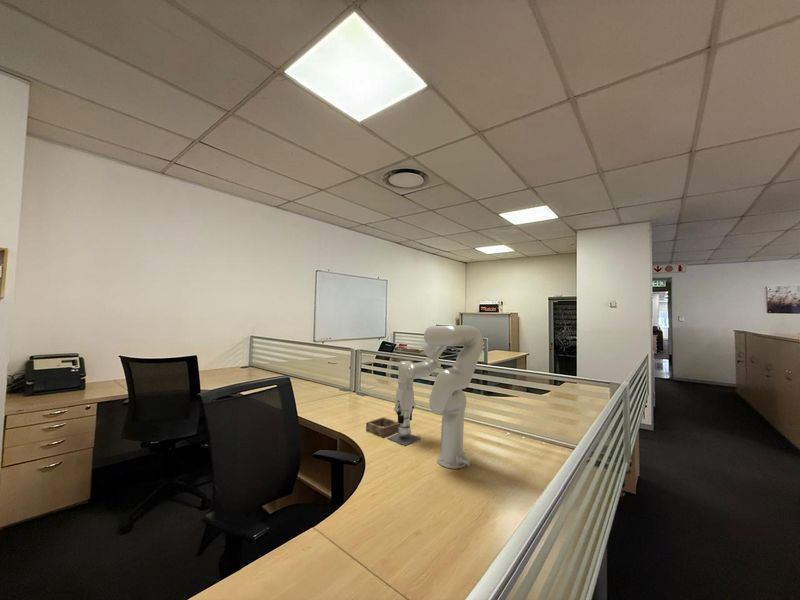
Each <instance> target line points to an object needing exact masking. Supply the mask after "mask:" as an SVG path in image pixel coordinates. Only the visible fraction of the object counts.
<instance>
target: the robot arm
mask: <svg viewBox="0 0 800 600" xmlns="http://www.w3.org/2000/svg"><path fill="white" fill-rule="evenodd" d="M423 340H424V342H425V344H424V345H423V348H422V350H423V353H424V354H425V356H426V359H425V360H424V361H420V362H412V361H411V360H401V361H399V363H398V372H397V373H398V374H397V375H398V380H397V382H398V383H397V384H398V385H397V389H396V391H395V392H396V393H395V399H394V400H395V402H394V409H393V410H394V411H395V413H396V415H397V422H398V423H401V424H403V410H404V409H405V407H406V406H407V404H410V405H411V414H410V422H411V421H413V420H412V419H413V412H414V408H415V407H416V402H415V393H414V380H417V379H421V378H427V377H429V376H430V375H432V374H433V373H434V371H435V370H436V369H437V367H438V366H439V361H440V358H439V357H440V356H441V355H442V354H443V352H444V351H445V350H446V349H447V347H462V349H461V350H460V351H459V353H458V354H457V356H456V360H455V362H454V364H453V366H451V367H449V368H448V367H447V368H444V369H442V370H440V371H439V373H438V374H437V376H436V378H435V381H434V383H433V386H432V389H431V392H430V395H429V400H428V401H429V408H430V410H431V412H432V413H434V414H435V415H438V416H439V415H440V416H442V417H441V429H440V431H441V435H440V438H441V439H440V440H441V442H440V454H439V455H438V456H437V458H436V461H437V463H438V464H439V465H440V466H442V467H444V468H447V469H454V470H455V469H462V468H464V467H465V466H469V467H470V465H471V458H469V457H466V452H464V425H465V413H466V407H467V396H466V394H465V392H464V391H463V390H464V389H466V388H468V387H469V386H470V383H471V381H472V378H473V375H474V373H475V370H476V366H477V363H478V361H479V358H480V357H481V354H482V352H483V349H484V339H483V335H482V333H481V332H480V330H479V329H478V328H477V327H476V326H473V325H462V324H461V325H431V326H429V327H427V328H426V329H425V331H424V334H423ZM400 407H401V409H400ZM400 410H401V412H400Z"/></svg>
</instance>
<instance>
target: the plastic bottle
mask: <svg viewBox="0 0 800 600" xmlns="http://www.w3.org/2000/svg"><path fill="white" fill-rule="evenodd" d="M400 409H401V407H400ZM400 412H401V410H400ZM410 414H411V405H410V404H407V406H406V407H405V409H404V410H403V424H401V423H399V427H398V432H397V434H399V436H401V437H408V436H410V434H411V433H412V428H411V421H410ZM411 435H412V434H411Z"/></svg>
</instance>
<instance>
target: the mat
mask: <svg viewBox="0 0 800 600" xmlns="http://www.w3.org/2000/svg"><path fill="white" fill-rule="evenodd" d="M386 438H387V440H388V441H391V442H393V443H395V444H398V445H402V446H403V445H404V447H406V446H409V445H411V444H413V442H414V443H416V442H417V440H418V441H420V440H422V438H421V437H419V436H418V435H417V436H416V435H414V434H410V436H408V437H401V436H399V434H398V433H395V434H393V435H390V436H388V437H386ZM415 441H416V442H415Z"/></svg>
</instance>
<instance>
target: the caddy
mask: <svg viewBox="0 0 800 600" xmlns="http://www.w3.org/2000/svg"><path fill="white" fill-rule="evenodd" d="M365 425H366V426H365V432H366V433H370V434H372V435H375V436H377V437H380V438H382V439H384V438H388V437H391V436H393V435H396V434H398V427H399V423H398V421H396V420H392V419H389V418H387V417H384V416H383V417H380V418H377V419H372V420H371V421H367V422H366V424H365Z"/></svg>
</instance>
